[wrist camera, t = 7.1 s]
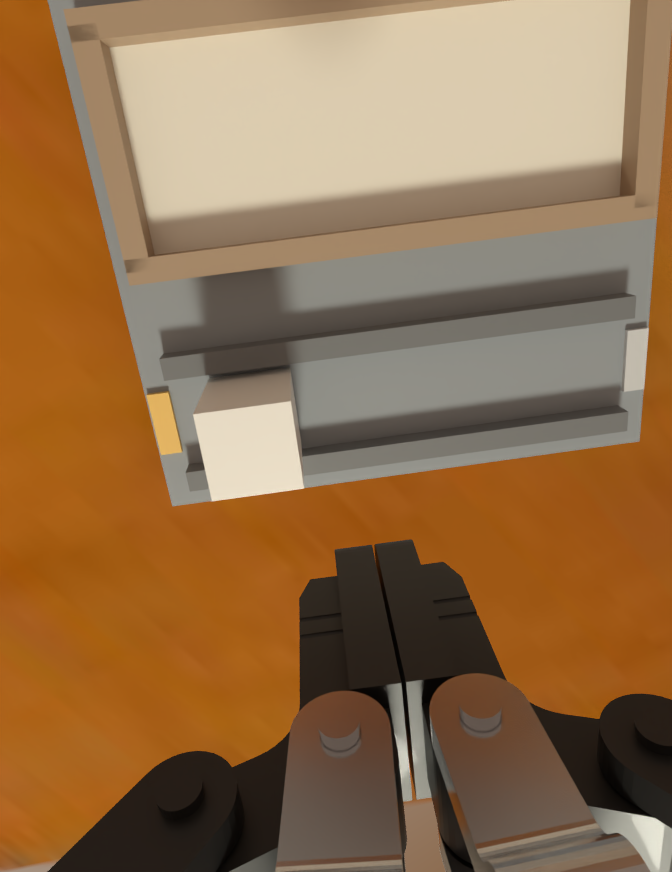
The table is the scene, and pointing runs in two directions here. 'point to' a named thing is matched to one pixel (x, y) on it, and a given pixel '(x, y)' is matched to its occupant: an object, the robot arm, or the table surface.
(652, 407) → the table surface
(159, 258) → the switch board
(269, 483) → the switch tab
